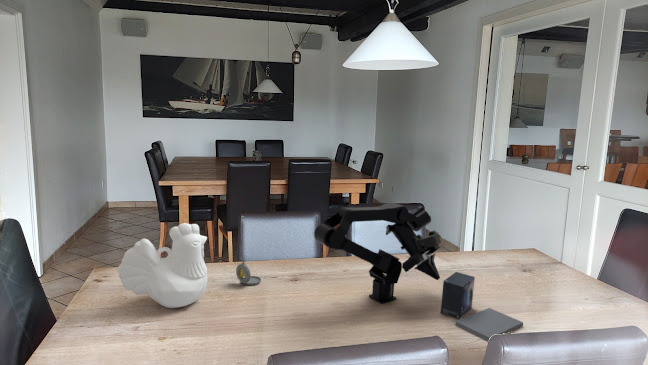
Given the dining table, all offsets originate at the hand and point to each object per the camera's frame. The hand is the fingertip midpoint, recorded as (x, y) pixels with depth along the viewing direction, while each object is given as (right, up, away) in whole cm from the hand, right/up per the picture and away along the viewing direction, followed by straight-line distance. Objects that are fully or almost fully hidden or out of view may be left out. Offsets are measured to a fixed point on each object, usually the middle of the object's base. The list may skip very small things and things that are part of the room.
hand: (438, 279), depth 136 cm
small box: (+5, -9, -2) cm, 11 cm away
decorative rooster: (-84, -7, -2) cm, 84 cm away
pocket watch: (-62, -5, +15) cm, 64 cm away
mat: (+11, -11, -11) cm, 19 cm away
